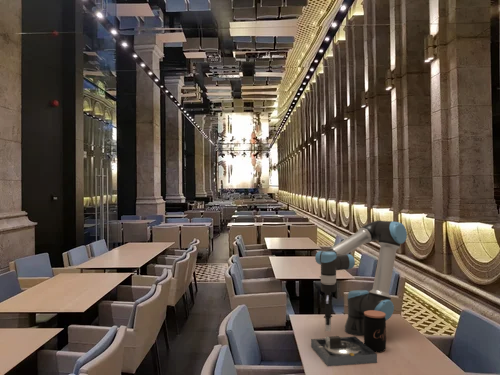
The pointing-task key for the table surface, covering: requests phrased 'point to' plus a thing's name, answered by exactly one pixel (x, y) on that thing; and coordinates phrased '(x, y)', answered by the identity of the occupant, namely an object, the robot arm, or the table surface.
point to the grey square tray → (347, 359)
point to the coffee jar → (375, 330)
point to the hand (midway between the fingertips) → (328, 330)
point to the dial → (340, 346)
